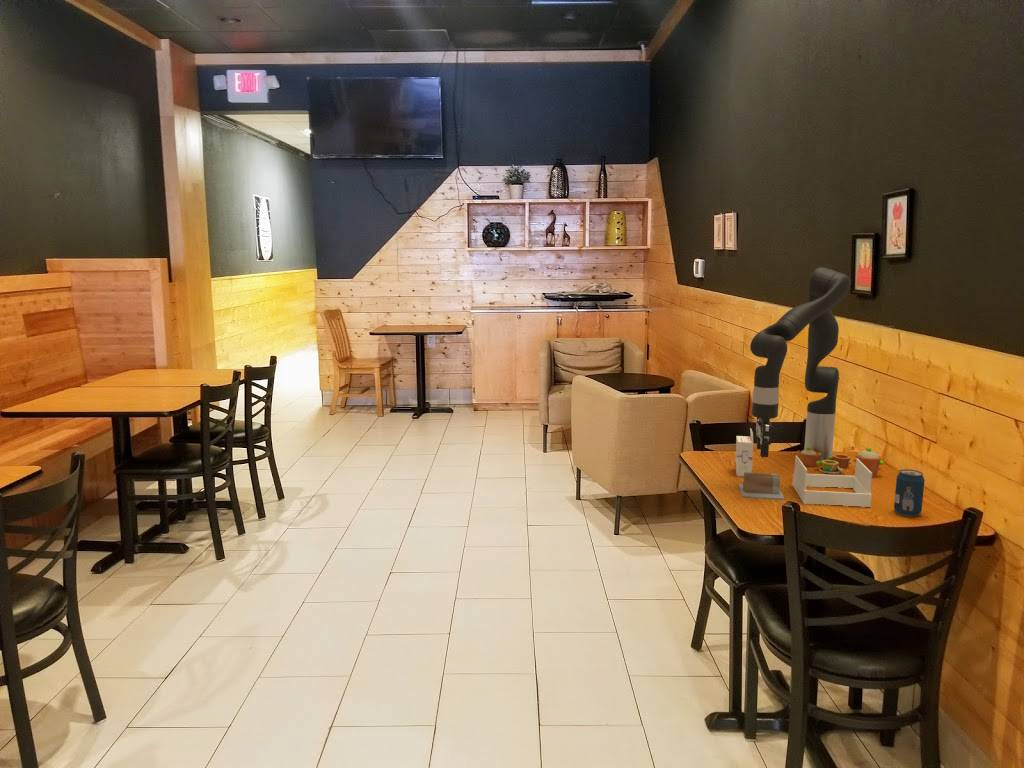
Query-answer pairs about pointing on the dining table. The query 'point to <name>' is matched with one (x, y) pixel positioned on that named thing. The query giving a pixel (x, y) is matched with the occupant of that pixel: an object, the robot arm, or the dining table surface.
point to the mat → (760, 494)
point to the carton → (857, 482)
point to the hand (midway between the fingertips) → (762, 453)
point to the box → (761, 483)
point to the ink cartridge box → (744, 454)
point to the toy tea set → (842, 461)
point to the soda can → (909, 492)
